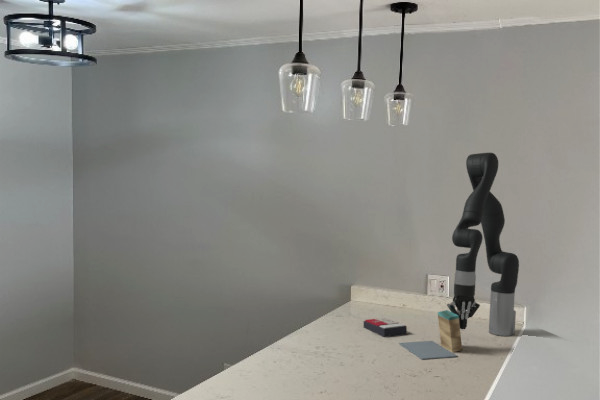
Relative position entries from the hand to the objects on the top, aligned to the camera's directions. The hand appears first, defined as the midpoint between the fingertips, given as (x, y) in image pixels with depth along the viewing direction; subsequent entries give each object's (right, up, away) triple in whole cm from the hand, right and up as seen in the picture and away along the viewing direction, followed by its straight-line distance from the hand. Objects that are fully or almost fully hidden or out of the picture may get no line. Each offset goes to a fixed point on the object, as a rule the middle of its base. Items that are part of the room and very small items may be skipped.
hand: (462, 328), depth 221 cm
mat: (-14, -7, -3) cm, 16 cm away
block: (-4, -7, 0) cm, 8 cm away
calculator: (-26, -6, +20) cm, 33 cm away
